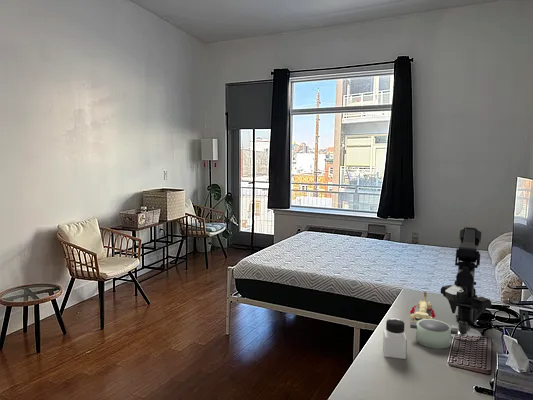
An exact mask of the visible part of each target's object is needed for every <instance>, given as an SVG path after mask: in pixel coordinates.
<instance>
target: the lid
mask: <svg viewBox="0 0 533 400" xmlns="http://www.w3.org/2000/svg"><path fill="white" fill-rule="evenodd" d="M450 327H451V328H457V329H458V336H459V334H460V335H461V336H467V335H469V336H481V337H482V333H481V332H480V331H478V330H477V329H475V328H473V327H470V326H468V323H467V322H466V321H459V322H458V324H451V325H450ZM453 337H455V335H454V334H451V338H453ZM453 339H454V338H453Z"/></svg>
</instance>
